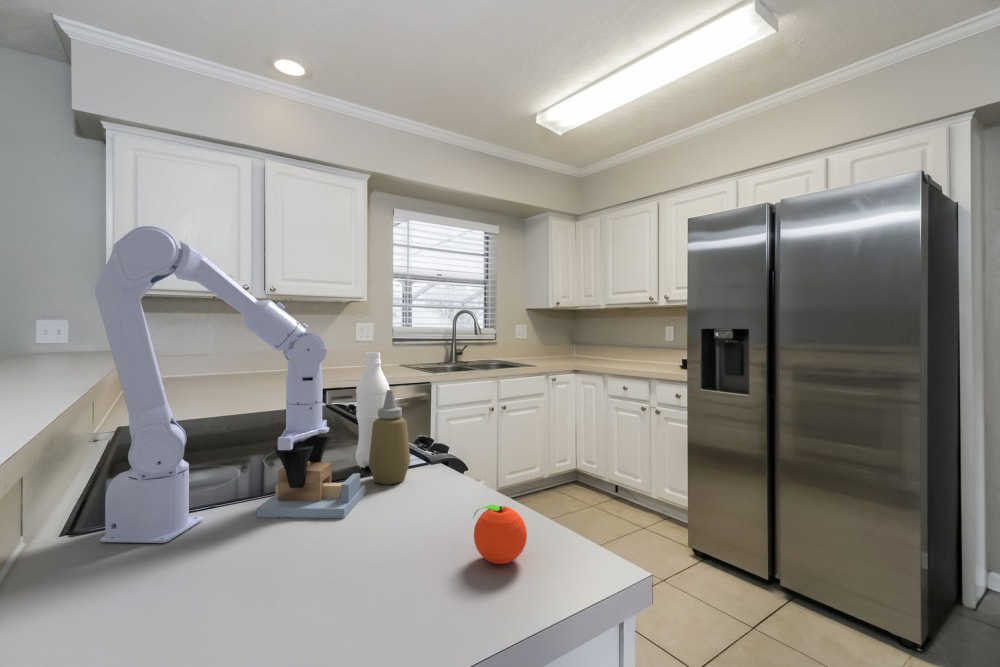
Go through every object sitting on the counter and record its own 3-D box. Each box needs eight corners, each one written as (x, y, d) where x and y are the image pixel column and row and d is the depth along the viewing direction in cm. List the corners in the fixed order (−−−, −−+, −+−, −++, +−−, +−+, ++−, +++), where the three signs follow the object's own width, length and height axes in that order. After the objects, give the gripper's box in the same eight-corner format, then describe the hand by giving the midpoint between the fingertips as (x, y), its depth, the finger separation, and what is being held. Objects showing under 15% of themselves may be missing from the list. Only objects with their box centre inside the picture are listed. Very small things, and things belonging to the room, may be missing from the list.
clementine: (456, 561, 59) (456, 507, 59) (487, 541, 65) (487, 491, 65) (507, 581, 55) (508, 521, 55) (536, 557, 61) (536, 504, 61)
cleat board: (256, 517, 73) (256, 489, 73) (289, 492, 84) (289, 468, 84) (344, 518, 73) (344, 489, 73) (365, 493, 84) (365, 469, 84)
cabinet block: (277, 500, 76) (278, 466, 76) (292, 490, 81) (292, 457, 81) (319, 501, 76) (320, 466, 76) (331, 490, 81) (331, 458, 81)
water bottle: (349, 470, 97) (349, 353, 97) (364, 461, 105) (365, 351, 104) (381, 472, 96) (381, 353, 96) (394, 463, 103) (395, 352, 103)
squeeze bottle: (418, 478, 93) (419, 389, 92) (389, 490, 86) (389, 394, 86) (390, 471, 97) (390, 386, 97) (359, 482, 90) (360, 390, 90)
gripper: (309, 409, 71) (309, 497, 71) (342, 396, 86) (342, 469, 86) (264, 409, 71) (264, 496, 71) (305, 396, 86) (305, 468, 86)
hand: (304, 481), depth 78 cm, fingers closed on cabinet block, 5 cm apart
